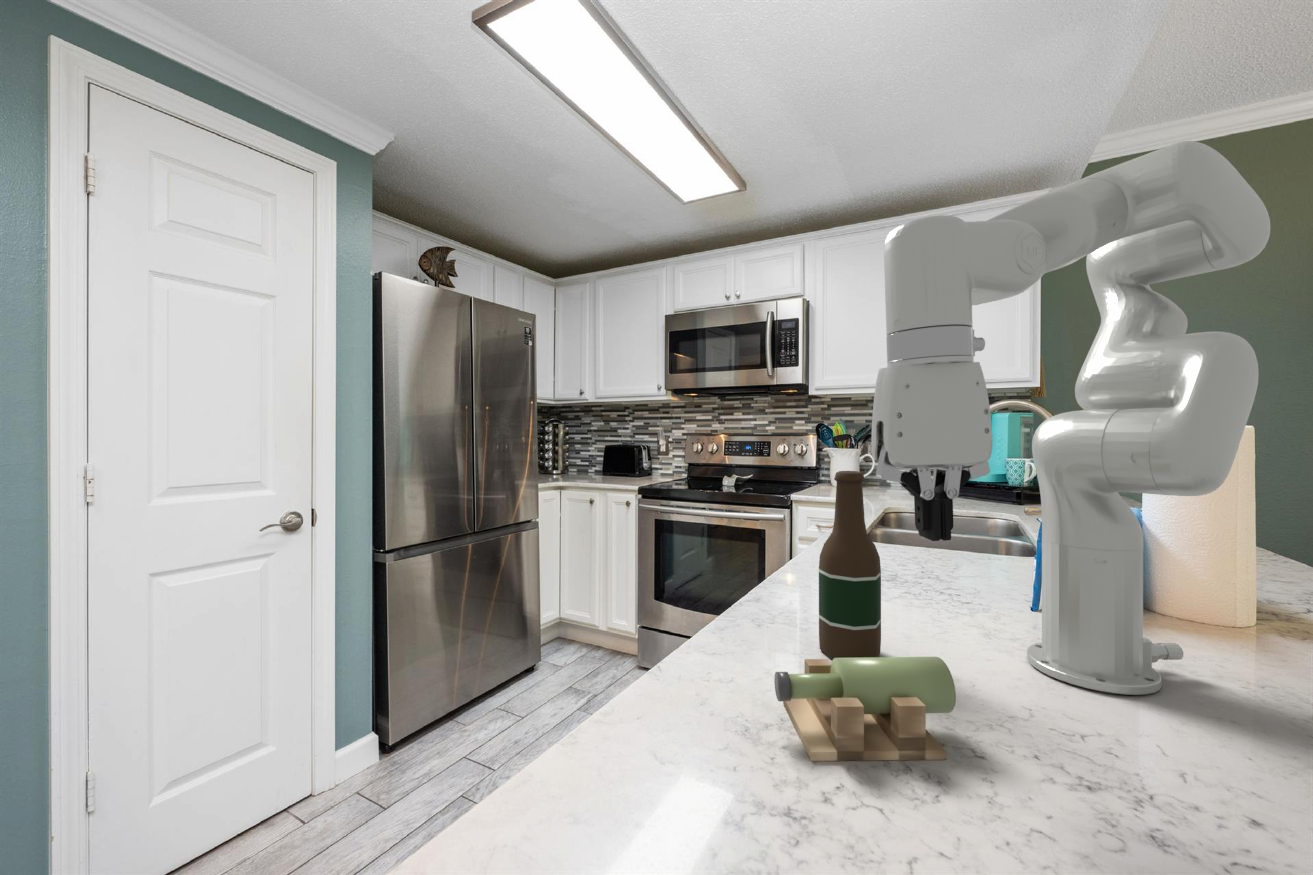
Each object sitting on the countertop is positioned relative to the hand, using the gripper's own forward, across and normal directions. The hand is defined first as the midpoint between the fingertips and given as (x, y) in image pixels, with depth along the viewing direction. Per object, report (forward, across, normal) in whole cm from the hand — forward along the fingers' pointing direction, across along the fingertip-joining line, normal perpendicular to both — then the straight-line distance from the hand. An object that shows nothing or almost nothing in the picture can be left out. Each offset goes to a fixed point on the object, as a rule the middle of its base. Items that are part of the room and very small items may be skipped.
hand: (934, 537), depth 53 cm
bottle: (+14, 0, +1) cm, 14 cm away
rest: (+18, +9, +1) cm, 20 cm away
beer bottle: (+19, +3, -17) cm, 26 cm away
